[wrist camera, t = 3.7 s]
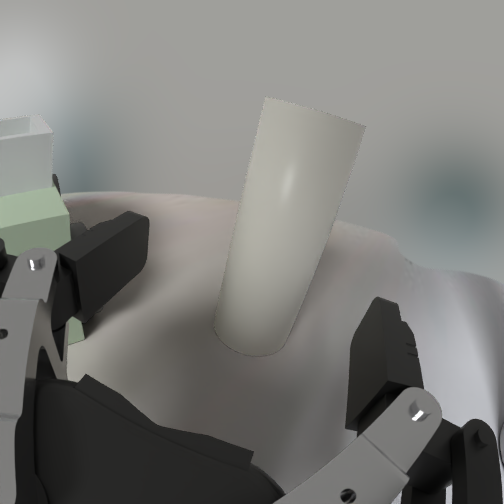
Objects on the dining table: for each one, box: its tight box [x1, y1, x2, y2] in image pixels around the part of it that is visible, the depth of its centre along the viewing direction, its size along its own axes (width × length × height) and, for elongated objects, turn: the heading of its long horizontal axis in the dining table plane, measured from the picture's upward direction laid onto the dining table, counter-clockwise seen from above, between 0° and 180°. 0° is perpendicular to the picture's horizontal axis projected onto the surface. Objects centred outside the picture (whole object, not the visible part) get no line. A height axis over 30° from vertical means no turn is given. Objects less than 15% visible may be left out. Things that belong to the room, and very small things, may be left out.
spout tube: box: [214, 97, 366, 356], centre depth 17 cm, size 5×5×14 cm
